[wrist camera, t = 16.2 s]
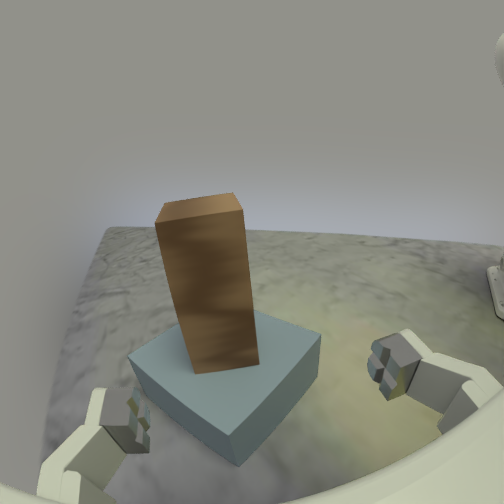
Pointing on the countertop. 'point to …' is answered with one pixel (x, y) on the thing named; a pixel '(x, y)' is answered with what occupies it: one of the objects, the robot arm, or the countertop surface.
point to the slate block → (231, 385)
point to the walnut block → (210, 280)
